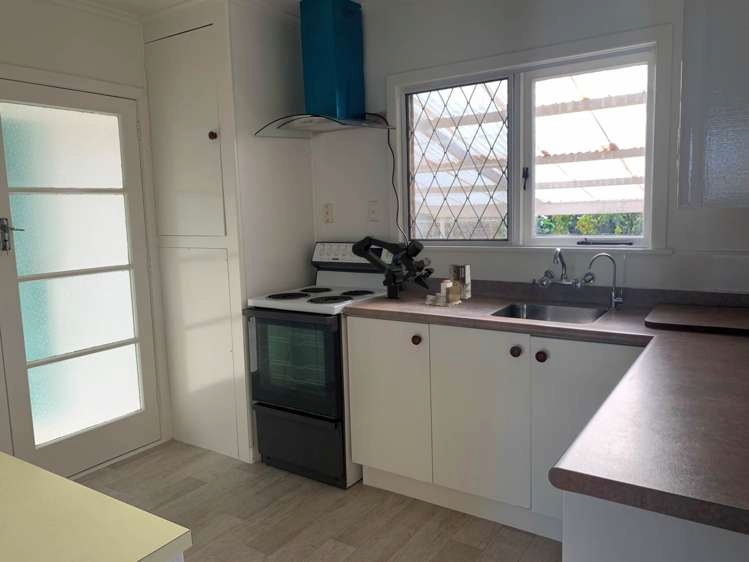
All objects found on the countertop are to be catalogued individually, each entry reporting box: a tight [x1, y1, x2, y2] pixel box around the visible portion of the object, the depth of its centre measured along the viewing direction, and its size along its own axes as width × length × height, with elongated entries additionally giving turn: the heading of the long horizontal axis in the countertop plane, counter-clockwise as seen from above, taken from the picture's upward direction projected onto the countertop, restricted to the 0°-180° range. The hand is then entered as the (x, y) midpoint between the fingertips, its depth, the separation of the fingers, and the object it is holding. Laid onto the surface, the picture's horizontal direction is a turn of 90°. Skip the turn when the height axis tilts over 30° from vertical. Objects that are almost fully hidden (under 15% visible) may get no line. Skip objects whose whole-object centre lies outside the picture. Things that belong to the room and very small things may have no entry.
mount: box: [424, 286, 462, 307], centre depth 268 cm, size 12×11×8 cm
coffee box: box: [448, 263, 472, 300], centre depth 283 cm, size 9×6×16 cm
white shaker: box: [440, 279, 452, 297], centre depth 267 cm, size 4×5×9 cm
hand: (428, 288), depth 273 cm, fingers closed
